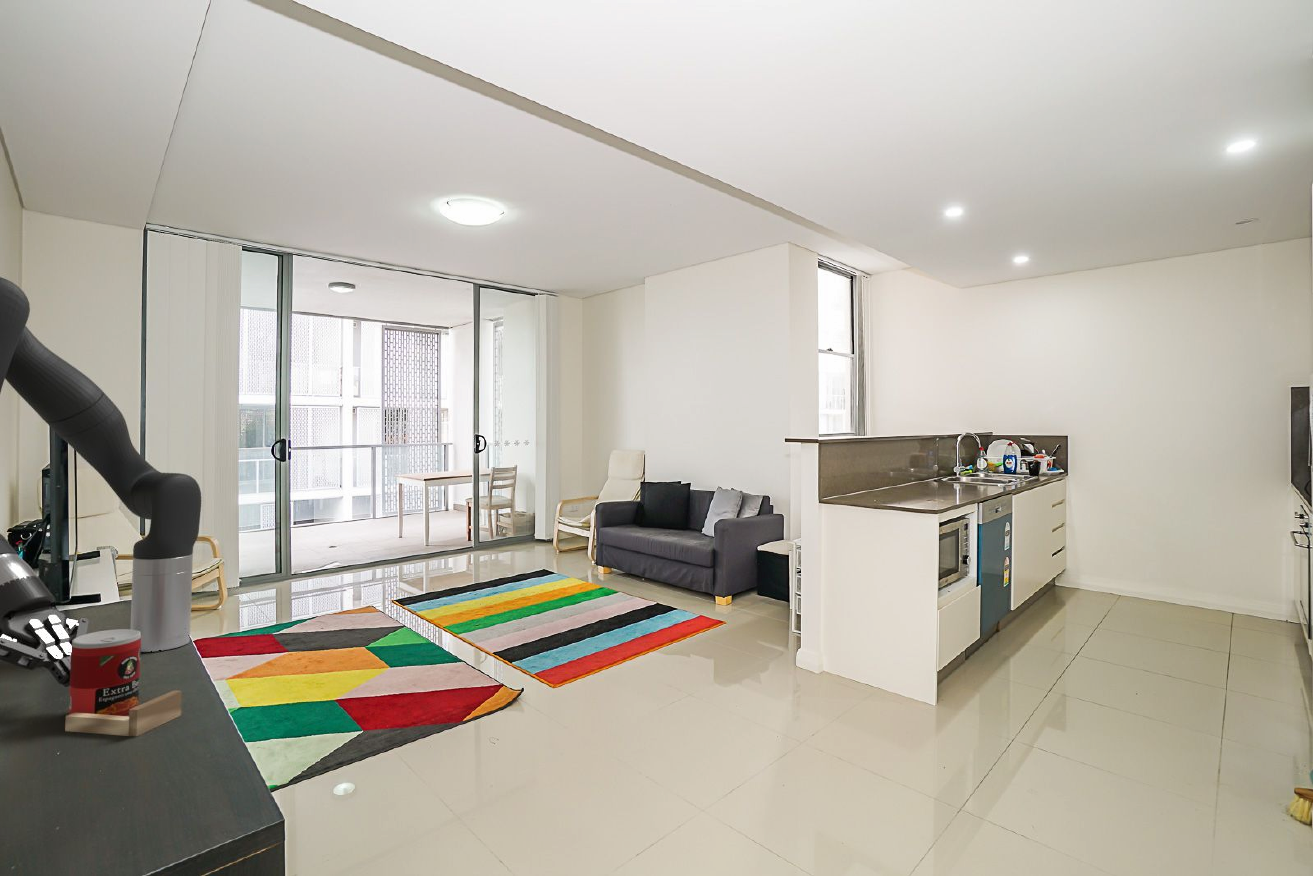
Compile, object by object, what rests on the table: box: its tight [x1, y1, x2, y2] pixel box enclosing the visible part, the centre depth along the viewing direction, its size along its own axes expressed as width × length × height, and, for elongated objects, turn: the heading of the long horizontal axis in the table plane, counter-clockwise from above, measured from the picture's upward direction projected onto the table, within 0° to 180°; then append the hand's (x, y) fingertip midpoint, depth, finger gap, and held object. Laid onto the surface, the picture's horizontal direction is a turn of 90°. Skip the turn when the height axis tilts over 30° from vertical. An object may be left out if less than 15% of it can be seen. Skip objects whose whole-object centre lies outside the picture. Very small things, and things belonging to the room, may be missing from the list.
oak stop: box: [64, 689, 183, 738], centre depth 90 cm, size 11×7×4 cm, turn 83°
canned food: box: [68, 628, 142, 716], centre depth 94 cm, size 8×8×11 cm
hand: (76, 681), depth 94 cm, fingers closed
